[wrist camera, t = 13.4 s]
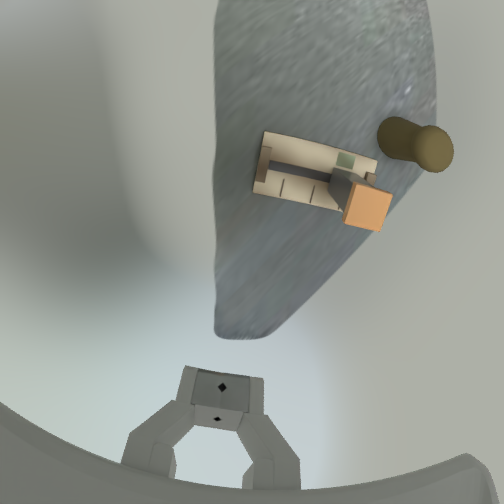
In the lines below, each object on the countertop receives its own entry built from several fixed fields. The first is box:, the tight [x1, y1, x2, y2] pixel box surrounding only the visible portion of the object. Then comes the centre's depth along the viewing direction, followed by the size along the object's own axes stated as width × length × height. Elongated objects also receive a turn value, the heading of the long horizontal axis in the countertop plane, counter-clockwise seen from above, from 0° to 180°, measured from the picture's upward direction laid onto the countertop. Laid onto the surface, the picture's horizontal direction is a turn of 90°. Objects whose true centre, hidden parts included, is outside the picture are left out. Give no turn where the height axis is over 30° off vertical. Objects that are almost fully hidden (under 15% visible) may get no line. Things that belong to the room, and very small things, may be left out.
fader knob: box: [327, 167, 393, 232], centre depth 29 cm, size 4×4×10 cm
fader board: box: [253, 131, 377, 212], centre depth 33 cm, size 8×15×2 cm, turn 80°
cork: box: [377, 117, 454, 173], centre depth 26 cm, size 6×6×11 cm
